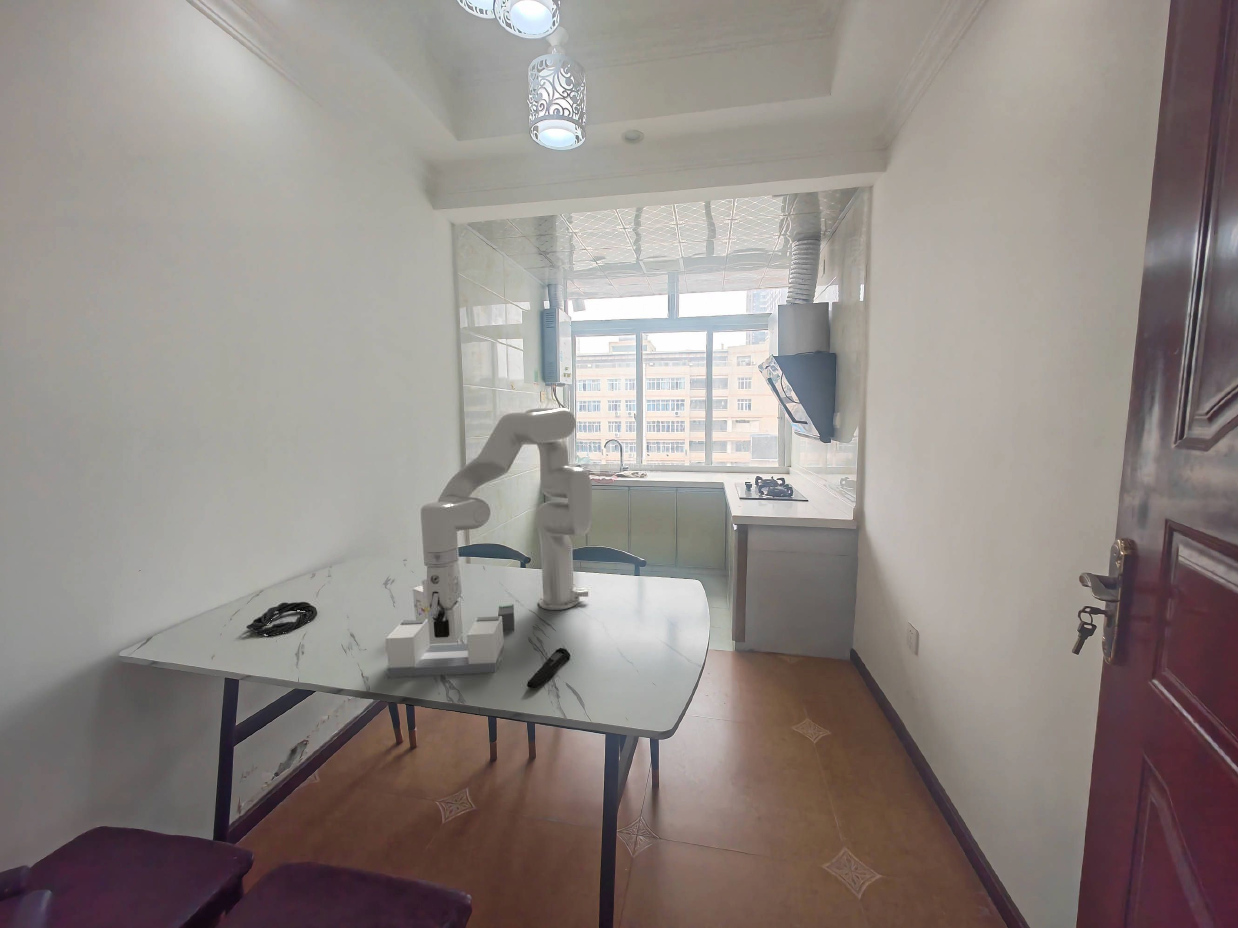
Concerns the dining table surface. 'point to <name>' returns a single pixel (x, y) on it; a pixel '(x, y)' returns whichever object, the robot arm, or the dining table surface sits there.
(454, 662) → the rail board
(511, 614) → the loose device
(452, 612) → the block
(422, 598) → the ink cartridge box
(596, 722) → the dining table surface
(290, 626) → the cable
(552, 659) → the electric trimmer
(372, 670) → the dining table surface
